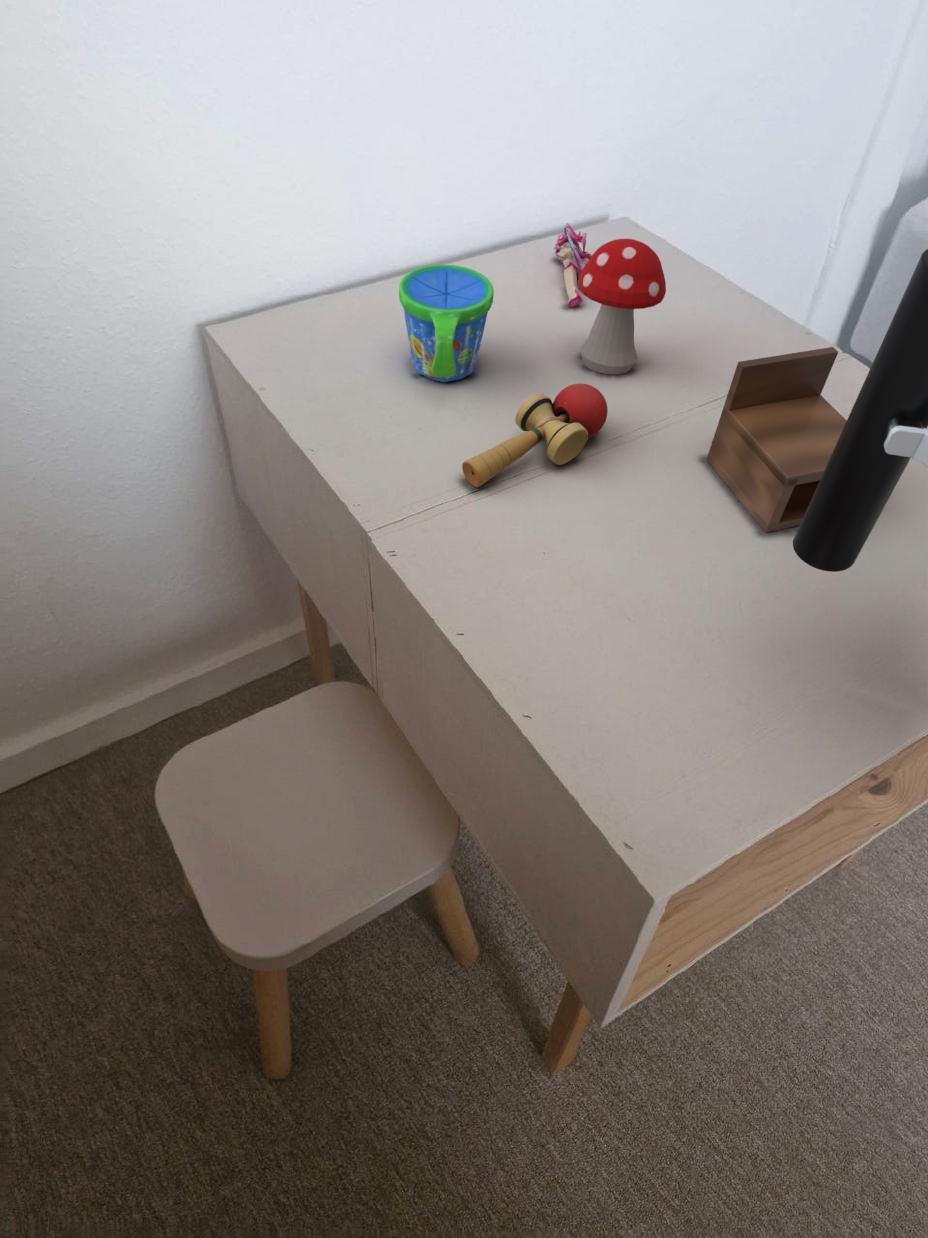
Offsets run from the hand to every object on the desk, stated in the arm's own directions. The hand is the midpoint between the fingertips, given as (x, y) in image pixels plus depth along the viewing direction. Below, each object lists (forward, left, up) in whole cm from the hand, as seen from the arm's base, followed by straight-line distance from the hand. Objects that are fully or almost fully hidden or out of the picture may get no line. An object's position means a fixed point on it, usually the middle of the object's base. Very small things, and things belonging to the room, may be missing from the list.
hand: (879, 407), depth 54 cm
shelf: (+5, -24, -26) cm, 36 cm away
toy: (+42, -52, -26) cm, 72 cm away
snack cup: (+46, -23, -26) cm, 58 cm away
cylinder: (-1, 0, -12) cm, 13 cm away
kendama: (+29, -14, -26) cm, 42 cm away
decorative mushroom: (+30, -35, -26) cm, 53 cm away
